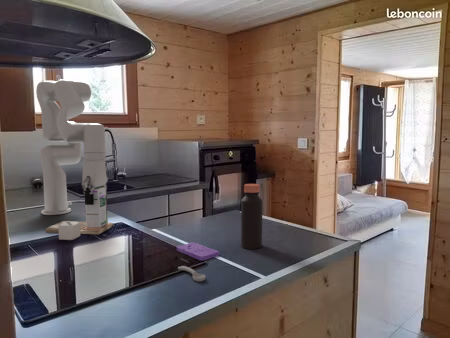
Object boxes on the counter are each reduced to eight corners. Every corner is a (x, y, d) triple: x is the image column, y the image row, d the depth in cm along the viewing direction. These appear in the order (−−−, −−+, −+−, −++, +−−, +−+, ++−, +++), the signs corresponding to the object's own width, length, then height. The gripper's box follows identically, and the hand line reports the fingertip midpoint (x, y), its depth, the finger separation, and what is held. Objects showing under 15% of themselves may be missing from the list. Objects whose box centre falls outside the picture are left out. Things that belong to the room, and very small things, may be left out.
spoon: (198, 284, 85) (197, 276, 85) (175, 272, 95) (175, 265, 95) (208, 281, 87) (208, 273, 87) (185, 270, 97) (184, 263, 97)
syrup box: (100, 227, 131) (99, 189, 130) (85, 227, 132) (84, 188, 131) (107, 224, 137) (106, 186, 135) (93, 223, 138) (92, 186, 136)
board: (64, 224, 143) (64, 220, 143) (113, 226, 140) (113, 222, 140) (45, 232, 131) (45, 228, 131) (98, 234, 128) (98, 230, 128)
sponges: (193, 247, 115) (193, 241, 115) (219, 256, 106) (219, 250, 105) (175, 252, 110) (175, 246, 110) (201, 262, 101) (201, 256, 101)
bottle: (256, 250, 109) (256, 186, 108) (237, 247, 113) (237, 185, 111) (265, 245, 115) (266, 184, 113) (247, 241, 119) (247, 182, 117)
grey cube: (67, 235, 127) (66, 221, 127) (80, 236, 127) (79, 222, 126) (59, 239, 122) (58, 225, 122) (72, 240, 122) (71, 225, 121)
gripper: (97, 155, 141) (98, 197, 143) (72, 158, 124) (74, 206, 126) (114, 155, 140) (115, 198, 142) (92, 158, 123) (93, 207, 125)
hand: (96, 202), depth 134 cm, fingers open, 9 cm apart
